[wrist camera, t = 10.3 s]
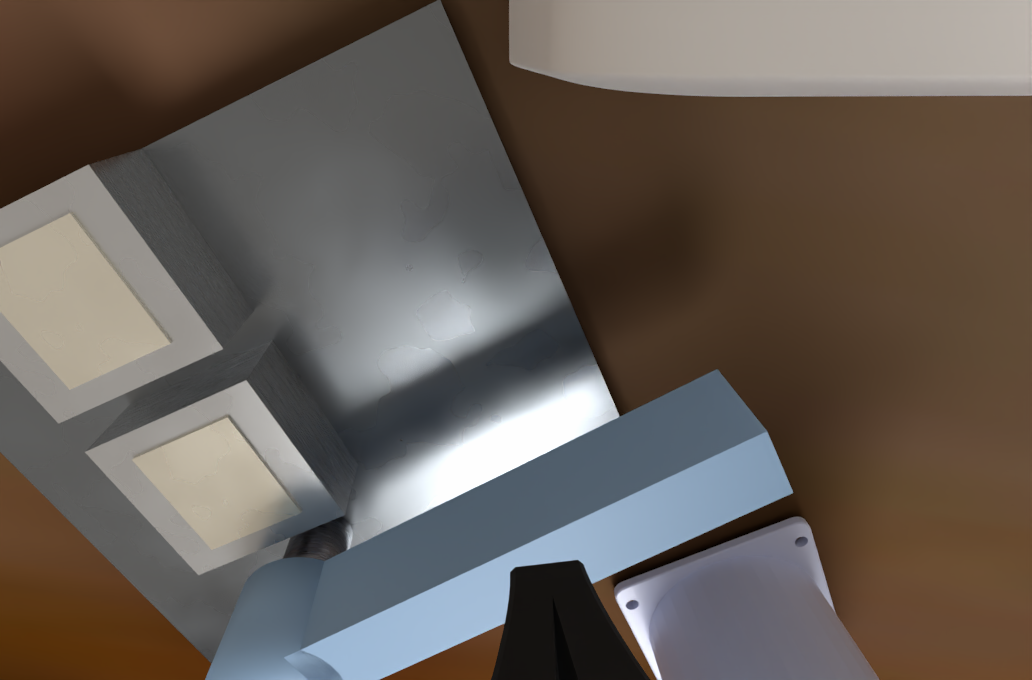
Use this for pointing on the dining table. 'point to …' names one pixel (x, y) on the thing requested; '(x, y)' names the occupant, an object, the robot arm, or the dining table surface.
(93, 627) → the dining table surface
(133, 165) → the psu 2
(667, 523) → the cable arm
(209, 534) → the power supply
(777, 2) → the cable organizer
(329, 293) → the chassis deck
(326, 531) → the pivot post
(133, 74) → the dining table surface
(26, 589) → the dining table surface
